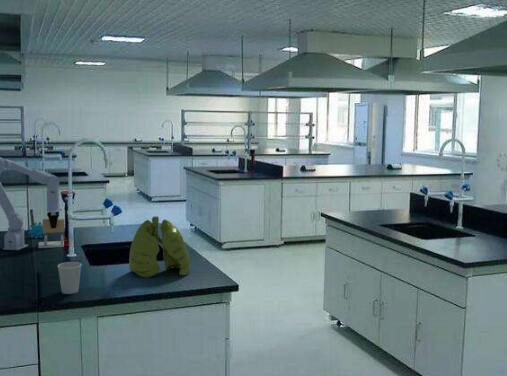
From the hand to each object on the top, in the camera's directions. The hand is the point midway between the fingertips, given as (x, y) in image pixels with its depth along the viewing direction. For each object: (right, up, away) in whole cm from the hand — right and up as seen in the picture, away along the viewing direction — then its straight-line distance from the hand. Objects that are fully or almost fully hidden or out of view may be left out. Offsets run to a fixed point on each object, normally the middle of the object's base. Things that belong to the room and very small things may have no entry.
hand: (53, 227), depth 273 cm
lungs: (+60, -16, -43) cm, 76 cm away
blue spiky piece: (-14, -7, +18) cm, 23 cm away
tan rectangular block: (0, -2, 0) cm, 2 cm away
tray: (0, -9, +1) cm, 9 cm away
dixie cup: (+31, -19, -70) cm, 79 cm away
